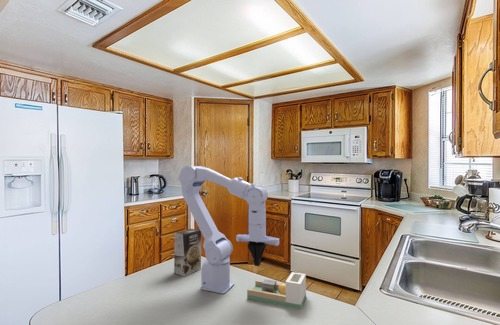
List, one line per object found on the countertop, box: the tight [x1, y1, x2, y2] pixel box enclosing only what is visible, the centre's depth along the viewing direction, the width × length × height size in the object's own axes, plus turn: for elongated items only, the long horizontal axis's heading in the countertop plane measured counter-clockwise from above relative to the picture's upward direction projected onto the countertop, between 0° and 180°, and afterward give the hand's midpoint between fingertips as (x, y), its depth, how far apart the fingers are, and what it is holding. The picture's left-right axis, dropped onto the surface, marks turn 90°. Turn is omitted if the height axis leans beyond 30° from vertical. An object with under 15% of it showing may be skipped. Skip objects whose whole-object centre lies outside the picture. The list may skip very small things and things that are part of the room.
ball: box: [278, 282, 286, 295], centre depth 82 cm, size 4×4×4 cm
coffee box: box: [173, 228, 202, 277], centre depth 106 cm, size 9×6×16 cm
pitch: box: [246, 271, 307, 310], centre depth 83 cm, size 17×8×7 cm, turn 67°
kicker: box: [262, 278, 278, 293], centre depth 84 cm, size 4×3×3 cm
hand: (257, 265), depth 86 cm, fingers closed
